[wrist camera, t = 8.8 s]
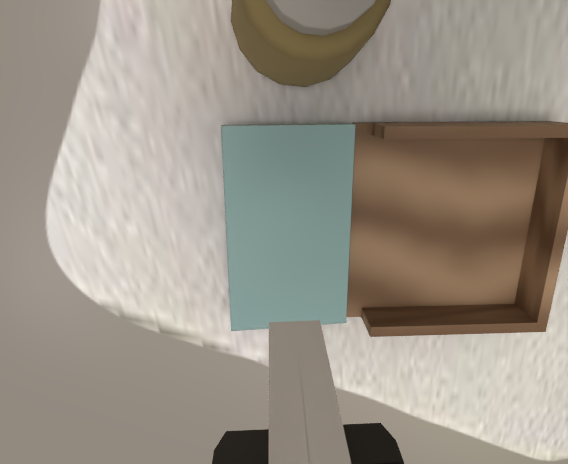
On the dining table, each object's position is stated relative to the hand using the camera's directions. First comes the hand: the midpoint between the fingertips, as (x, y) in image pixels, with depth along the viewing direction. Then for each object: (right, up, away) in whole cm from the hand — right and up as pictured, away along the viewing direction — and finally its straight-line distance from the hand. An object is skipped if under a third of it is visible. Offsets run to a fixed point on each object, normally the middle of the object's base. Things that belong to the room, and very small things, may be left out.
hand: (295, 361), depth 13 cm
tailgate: (+5, +4, +19) cm, 20 cm away
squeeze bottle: (0, +18, +15) cm, 24 cm away
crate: (+12, +5, +20) cm, 24 cm away
